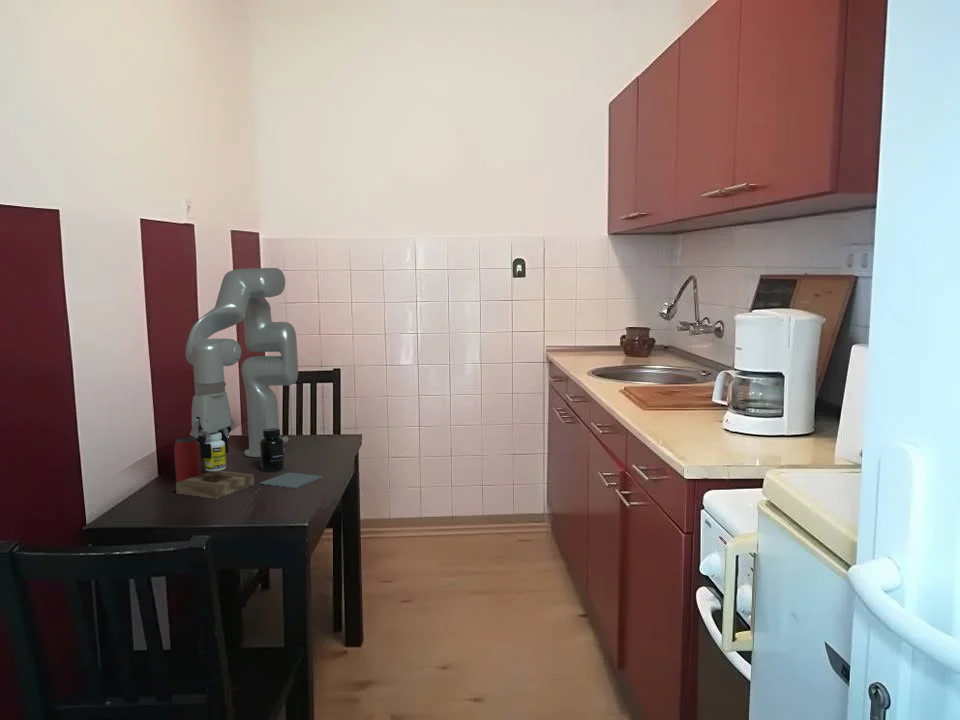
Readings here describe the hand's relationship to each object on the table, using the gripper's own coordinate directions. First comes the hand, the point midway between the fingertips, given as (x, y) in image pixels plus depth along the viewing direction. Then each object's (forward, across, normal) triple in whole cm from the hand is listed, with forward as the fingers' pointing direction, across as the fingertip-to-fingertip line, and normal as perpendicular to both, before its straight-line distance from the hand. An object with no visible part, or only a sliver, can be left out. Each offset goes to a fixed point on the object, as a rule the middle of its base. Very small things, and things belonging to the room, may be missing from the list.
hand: (214, 454), depth 204 cm
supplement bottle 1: (+4, 0, 0) cm, 4 cm away
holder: (+9, +1, 0) cm, 9 cm away
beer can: (+10, -3, -14) cm, 17 cm away
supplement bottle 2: (+10, -22, 0) cm, 24 cm away
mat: (+10, -13, +14) cm, 22 cm away
